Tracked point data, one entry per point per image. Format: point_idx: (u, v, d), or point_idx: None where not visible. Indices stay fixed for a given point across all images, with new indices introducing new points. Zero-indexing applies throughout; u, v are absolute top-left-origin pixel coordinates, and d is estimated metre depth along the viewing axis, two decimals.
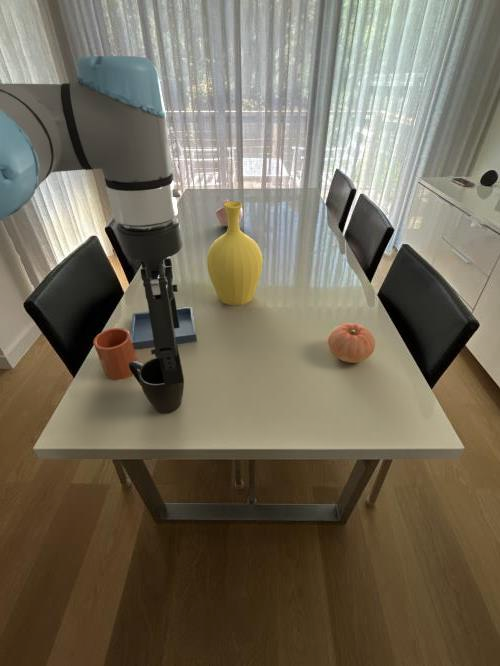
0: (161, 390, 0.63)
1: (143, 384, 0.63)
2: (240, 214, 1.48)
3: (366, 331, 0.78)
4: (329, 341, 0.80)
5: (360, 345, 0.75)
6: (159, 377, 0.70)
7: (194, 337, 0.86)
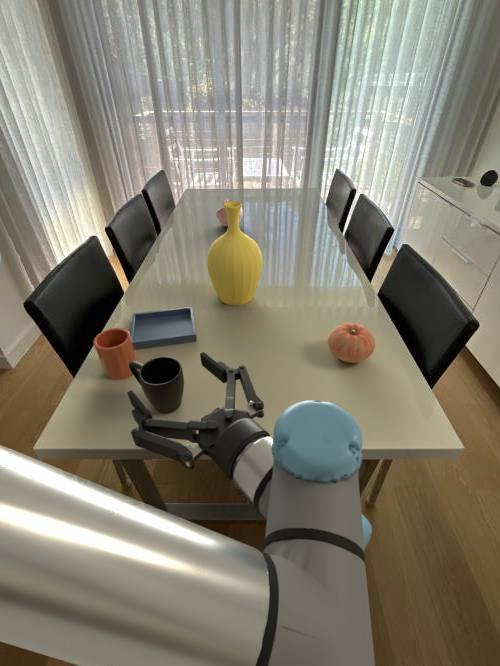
0: (161, 390, 0.63)
1: (143, 384, 0.63)
2: (240, 214, 1.48)
3: (366, 331, 0.78)
4: (329, 341, 0.80)
5: (360, 345, 0.75)
6: (159, 377, 0.70)
7: (194, 337, 0.86)
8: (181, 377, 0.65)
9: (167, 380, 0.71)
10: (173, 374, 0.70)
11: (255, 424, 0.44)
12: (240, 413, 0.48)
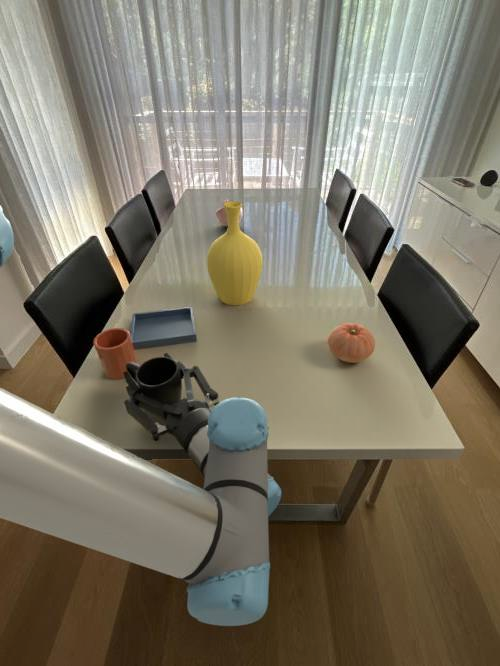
0: (158, 391, 0.62)
1: (140, 386, 0.63)
2: (240, 214, 1.48)
3: (366, 331, 0.78)
4: (329, 341, 0.80)
5: (360, 345, 0.75)
6: (157, 377, 0.70)
7: (194, 337, 0.86)
8: (178, 377, 0.65)
9: (165, 380, 0.71)
10: (171, 374, 0.70)
11: (209, 413, 0.57)
12: (201, 403, 0.61)
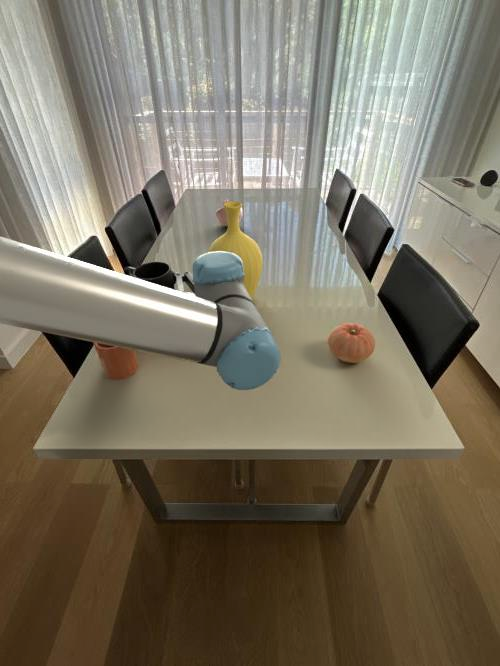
0: None
1: None
2: (240, 214, 1.48)
3: (366, 331, 0.78)
4: (329, 341, 0.80)
5: (360, 345, 0.75)
6: None
7: None
8: (171, 276, 0.72)
9: None
10: None
11: None
12: None
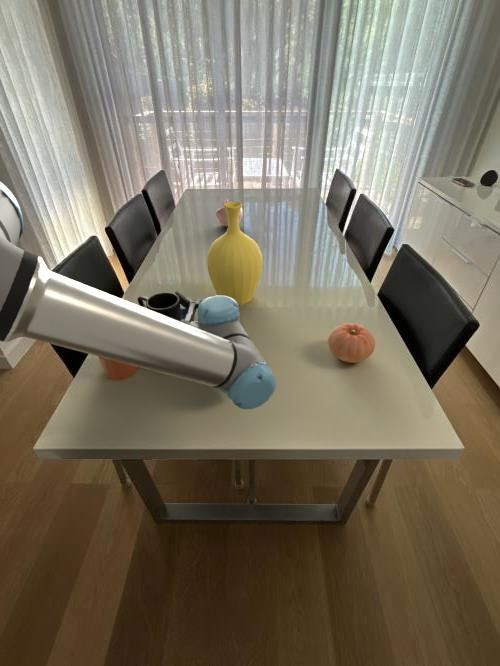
0: (163, 314, 0.82)
1: (149, 309, 0.82)
2: (240, 214, 1.48)
3: (366, 331, 0.78)
4: (329, 341, 0.80)
5: (360, 345, 0.75)
6: None
7: None
8: (179, 306, 0.85)
9: None
10: None
11: None
12: None
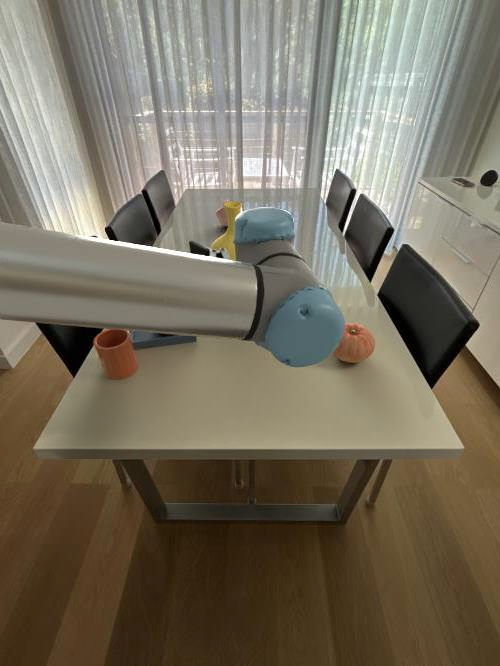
0: None
1: None
2: None
3: (366, 331, 0.78)
4: None
5: (360, 345, 0.75)
6: None
7: (194, 337, 0.86)
8: None
9: None
10: None
11: None
12: None
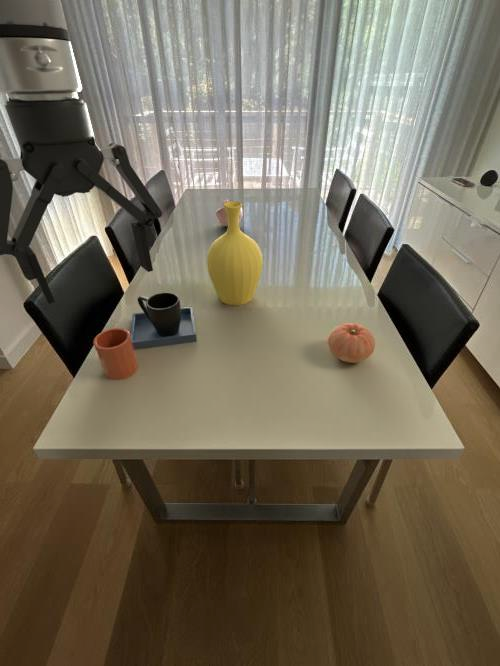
0: (163, 314, 0.82)
1: (149, 309, 0.82)
2: (240, 214, 1.48)
3: (366, 331, 0.78)
4: (329, 341, 0.80)
5: (360, 345, 0.75)
6: None
7: (194, 337, 0.86)
8: (179, 306, 0.85)
9: None
10: None
11: None
12: None
